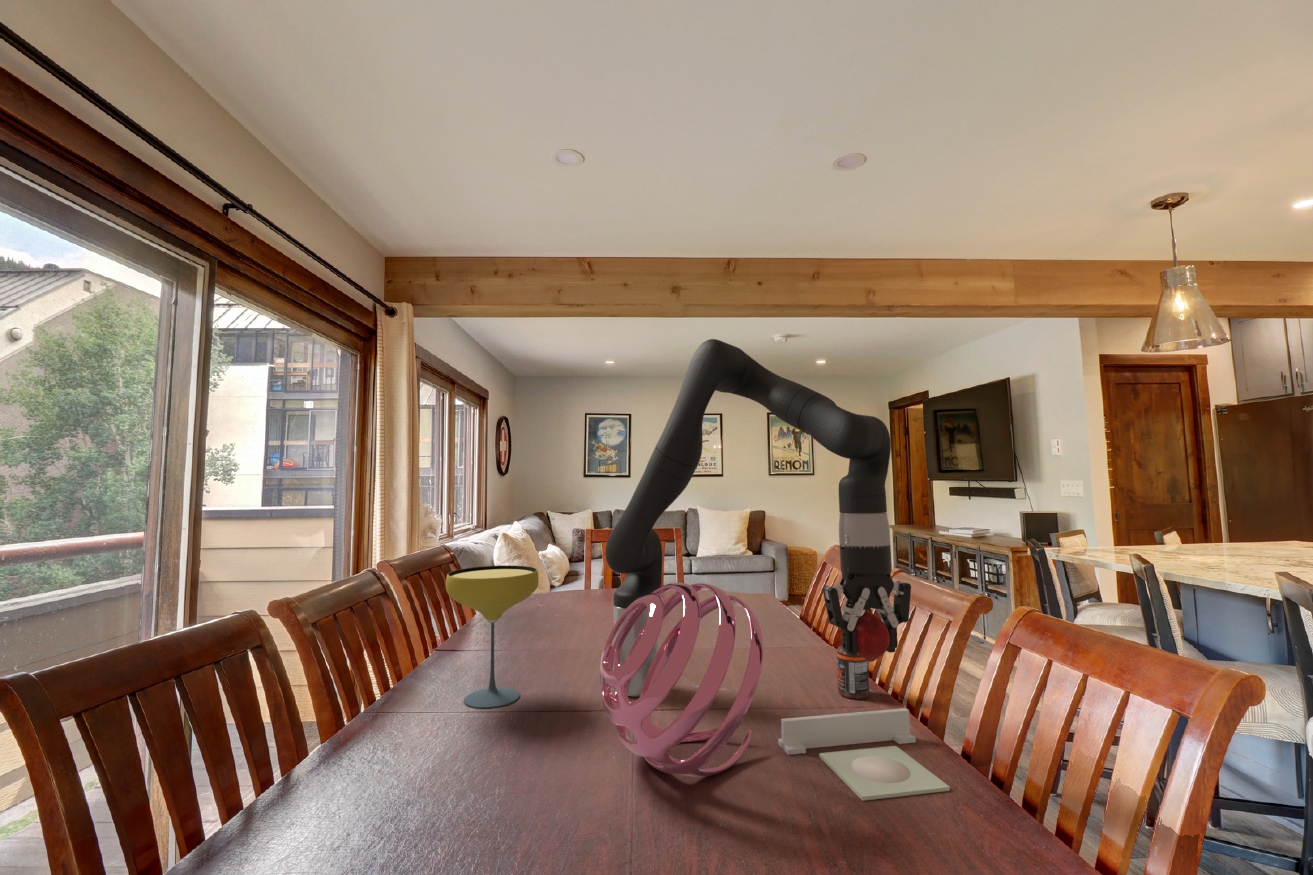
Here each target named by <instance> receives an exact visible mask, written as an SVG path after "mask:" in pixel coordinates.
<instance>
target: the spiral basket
mask: <svg viewBox="0 0 1313 875" xmlns="http://www.w3.org/2000/svg"><path fill="white" fill-rule="evenodd" d="M671 590H675V592H674V593H672V594H671V595H670V596H669V597H668V598H667V599H666V600H663V598H662V595H663V594H664V593H666V592H668V591H671ZM702 591H710V592H711V593H712V594H713V596H711V597H708V598H706V599H704V600H703V601H700V597H699V594H698V592H702ZM681 602H682V616H681V619H679V620H678V622H677V623H676V624H675V625H674V627H673V628H672V629H671V630H670V632H669V633H668V635H667V636H666V637H665V639H664V640H663V641H662V643H661V645H660V647H658V652H657V654H656V656H655V657H654V659H653V662H652V664H651V666H650V668H649V670H648V673H647V675H646V678H645V681H644V684H643V687H642V691H641V694H640V696H638V698H637V699H636V700H634V701H631V700H630V698H629V696H627V692H628V688H629V684H630V681H631V678H632V677H633V676H634V675H635V674H636V673H637V671H638V670H639V669H640V668H641V666H642V665H643V664H644V662H645V661H646V659H647V658H648V656H649V654H650V653H651V651H652V649H653V647H654V645H655V643H656V641H657V638H658V639H659V635H660V634H661V630H662V626H663V622H664V620H665V618H666V617H667V616H668V615H669V614H670V612H672V610H674V608H676V607H677V606H678V605H679V604H680V603H681ZM734 606H737V607H738V606H739V607H741V608H742V609H743V610H744V612H745V614H746V616H747V620H748V624H749V630H750V644H749V645H750V648H749V654H748V659H747V660H748V661H747V665H746V669H745V672H744V676H743V679H742V682H741V685H740V688H739V690H738V692H737V694H736V697H735V698H734V702H733V703H732V706H731V707H730V709H729V711H728V712H727V714H726V716H725V717H724V719H723V721H722V722H721V724H720V725H719V726H718V727H717V728H713V729H711V728H710V729H706V730H694V729H695V728H696V727H697V725H698V724H699V723H700V721H701V720H702V719H703V718H704V716H705V715H706V713H707V712H708V710H709V709H710V707H711V705H712V703H713V702H714V700H715V698H716V696H717V695H718V693H719V691H720V688H721V686H722V684H723V682H724V679H725V677H726V674H727V672H728V669H729V666H730V663H731V660H732V656H733V652H734V647H735V640H736V632H737V631H736V630H737V624H736V623H737V621H736V620H737V619H736V612H735V608H734ZM647 608H648V619H647V622H646V624H645V625H644V627H643V628H642V630H641V631H640V633H639V635H638V636H637V638H636V640H635V642H634V643H633V645H632V647H631V649H630V651H629V654H628V656H627V658H626V660H625V662H624V663H623V664H621V661H620V653H619V652H620V649H621V647H622V645H623V643H624V641H625V639H626V637H627V636H628V634H629V632H630V630H631V629H632V627H633V626H634V624H635V623H636V621H637V620H638V618H639V617H640V616H641V615H642V613H643V612H644V611H645V610H646V609H647ZM634 609H635V610H634ZM717 609H718V614H719V615H718V616H719V622H718V623H719V625H718V631H717V637H716V642H715V647H714V651H713V654H712V657H711V659H710V663H709V665H708V667H707V670H706V672H705V674H704V676H703V678H702V680H701V682H700V684H699V686H698V687H697V690H696V692H695V693H694V695H693V697H692V698H691V700H690V701H689V703H688V704H687V705H686V707H685V708H684V709H683V711H682V712H681V713H680V714H679V715H678V717H677V718H676V719H675V720H674V721H673V722H672V723H671V724H670V725H668V727H667V728H665V727H661V726H658V725H656V724H655V723H653V721H652V719H651V718H652V716H651V715H652V714H653V712H654V711H656V709H658V708H659V706H661V704H662V703H663V702H664V701H665V700H666V698H667V697H668V696H669V695H670V693H671V691H672V690H673V688H674V687H676V685H677V683H678V682H679V679H680V677H681V676H682V675H683V672H684V671H685V668H686V666H687V665H688V662H689V660H690V658H691V655H692V652H693V649H694V648H695V644H696V641H697V638H698V633H699V629H700V624H701V622H700V621H701V620H702V619H703V618H704V617H705V616H707V615H708V614H709V613H711V612H713V611H715V610H717ZM633 610H634V611H633ZM632 611H633V612H632ZM631 612H632V613H631ZM630 613H631V615H630V616H629V618H628V619H627V620H626V622H625V624H624V625H623V627H622V628H621V630H620V632H619V634H618V636H617V638H616V640H615V642H614V644H613V640H614V637H615V635H616V633H617V631H618V630H619V628H620V626H621V625H622V623H623V622H624V620H625V619H626V618H627V616H628V615H629V614H630ZM764 647H765V646H764V636H763V629H762V626H761V622H760V620H759V617H758V616H757V614H756V612H755V611H754V610H753V608H752V607H751V606H750V605H749V604H748V603H747V602H745V601H744V600H743V599H742V598H739V597H737V596H734V595H732V594H727V593H726V592H725V591H724V590H723V589H722V588H719V587H718V586H716V585H714V584H710V583H704V582H701V583H700V582H699V583H698V582H697V583H693V584H688V583H685V582H672V583H668V584H664V585H661V587H660V588H658V589H656V590H655V591H653V592H652V593H649V594H646V595H643V596H641V597H640V598H638V599H637V600H635V601H634V602H633V603H632V604H630V605H629V606H628V607H627V608H626V610H625V611H624V612H623V613H622V614H621V616H620V617H619V618H618V620H617V621H616V623H615V625H614V624H613V626H612V628H611V629H610V632H609V634H608V636H607V638H606V640H605V644H604V647H603V649H602V653H601V659H600V664H599V681H600V691H601V700H602V704H603V708H604V711H605V713H606V715H607V717H608V719H609V720H610V721H611V722H612V723H613V724H614V726H615V730H616V732H617V736H618V738H619V739H620V741H621V742H622V744H624V746H625V747H626V748H627V749H628V750H629V751H630V752H632V753H633V754H635V756H636V755H637V756H639V757H643V758H644V760H645V762H647V763H648V764H649V766H651V767H653V769H655V770H657V771H660V772H661V773H664V774H670V775H675V776H676V775H677V776H685V777H700V778H701V777H709V776H710V777H711V776H714V775H717V774H721V773H723V772H726V771H727V770H729V769H731V767H733V766H735V764H736V763H738V761H739V760H740V759H741V758H742V757H743V755H744V754H745V752H746V750H747V749H748V747H749V745H750V742H751V740H752V736H753V730H752V729H751V728H750V729H749V730H748V731H747V733H746V734H745V737H744V739H743V740H742V743H741V744H740V745H739V747H738V749H737V750H736V751H735V752H734V754H733V755H732V756H730V757H729V759H727V760H726V761H725V762H723V763H721V764H719V765H717V766H714V767H709V768H701V767H703V766H704V765H705V764H707V763H708V762H710V761H711V760H712V759H713V758H714V757H715V756H716V755H717V754H719V753H720V751H721V750H722V749H723V748H724V747H725V746H726V745H727V743H728V742H729V741H730V740H731V738H732V737H733V736H734V734H735V733H736V731H737V730H738V728H739V726H741V725H742V721H743V720H744V718H745V716H746V714H747V712H748V711H749V708H750V705H751V704H752V701H753V700H754V699H753V698H754V697H755V694H756V691H757V687H758V684H759V680H760V677H761V672H762V667H763V661H764V660H763V659H764ZM612 688H613V689H614V688H615V690H616V693H615V692H614V693H615V694H614V695H613V694H612V691H611V689H612ZM626 728H627V729H628V730H629V731H630V732H631V733H632V735H634V738H635V739H636V742H633V741H631V740H630V738H629V736H628V734H627V732H626V731H627V730H626ZM706 740H707V741H706ZM701 741H706V742H705V743H704V745H702V746H701V747H700V748H699V749H698V750H697V751H695V752H694V753H693V754H692V755H691V756H689V757H687V758H685V759H676V758H674V757H672V756H671V755H670V754H669V752H670V750H672V749H673V748H675V747H676V746H677V745H679V744H680V743H681V744H682V743H694V742H696V743H697V742H701Z"/></svg>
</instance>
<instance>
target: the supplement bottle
mask: <svg viewBox="0 0 1313 875" xmlns="http://www.w3.org/2000/svg"><path fill="white" fill-rule="evenodd" d="M840 638H841V645H839V646H838V647H837V649H836V662H837V663H836V666H837V668H836V669H837V670H836V671H837V691H838V693H839V694H840V695H841V696H843V697H844V698H846V699H851V698H852V699H853V698H854V700H860V699H861V700H863V699H866V698H868V697H869V696H870V675H869V661H867V660H866V659H865V658H864V657H862V656H861V655H860V654H859V653H858V652H857V656H850V655H849V654H847V653H846V651H845V650H844V649H843V647H842V636H841V637H840ZM862 698H863V699H862Z"/></svg>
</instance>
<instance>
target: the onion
mask: <svg viewBox="0 0 1313 875" xmlns="http://www.w3.org/2000/svg"><path fill="white" fill-rule="evenodd" d="M854 631H856V642H857V652H858V653H859V654H860V655H861V656H862V657H864V658H865V659H866V660H867V661H868V663H869V662H871V663H872V662H875V661H876V660H877V659H879V658H880V657H882V655H884V653H886V652H887V651H886V650H887V648H888V646H889V643H890V634H889V631H888V629H887V627H886V625H885V624H884V623H883V621H882V619H881V618H879V617H878V616H876V615H874V613H873V610H872V608H870V609H868V610H864V612H863V613H862V614H861V616H860V617H859V618H858V620H857V622H856V625H855V628H854Z"/></svg>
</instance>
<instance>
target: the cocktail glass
mask: <svg viewBox="0 0 1313 875" xmlns="http://www.w3.org/2000/svg"><path fill="white" fill-rule="evenodd" d="M538 586H539V571H538V569H537V568H535V567H531V566H526V565H525V566H524V565H486V566H475V567H473V566H472V567H467V568H461V569H456V570H453V571H450V572H448V573H447V575H446V578H445V590H446V593H447V595H448V596H449V597H450V598H451V599H452V600H453V601H455V602H457V603H458V604H461V605H463V606H465V607H467V608H469V609H471V610H474V611H476V612H478V613H479V614H481V615H482V616H483V618H484V619H485V620H486V622H488V623H490V627H491V628H490V630H491V631H490V669H489V670H490V672H489V673H490V674H489V675H490V676H489V683H488V688H483V689H479V690H477V691H473V692H471V693H470V694H467V695H466V696H465V697H464V698H463V703H464V705H466V706H467V707H469V706H471V707H470V708H473V707H474V709H485V710H486V709H495V708H501V707H504V706H508V705H511V704H513V703H515V702H516V701H518V700H519V699H520V696H521V693H520V691H519V690H516V689H514V688H509V687H497V685H496V680H495V678H496V677H495V623H497V622H498V621H499V620H500V619H501V618H502V616H503V614H504V613H505V612H506V611H508V610H510V609H511V608H513V607H514V606H516V605H518V604H519V603H521V602H523V601H525V600H526V599H528V598H529V597H531V596H532V594H534V593H535V591H536V590H537V589H538Z"/></svg>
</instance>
